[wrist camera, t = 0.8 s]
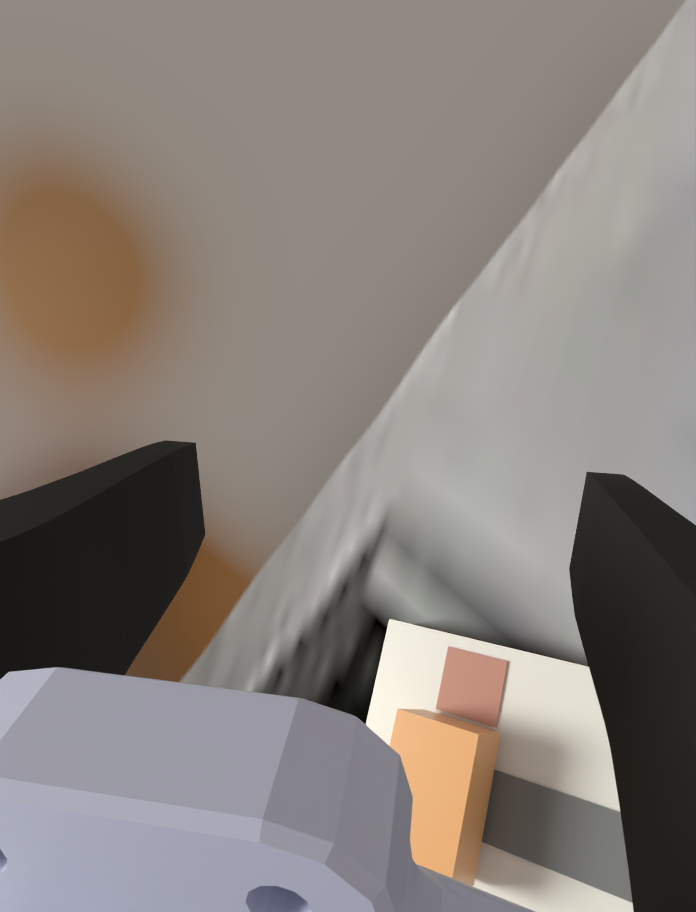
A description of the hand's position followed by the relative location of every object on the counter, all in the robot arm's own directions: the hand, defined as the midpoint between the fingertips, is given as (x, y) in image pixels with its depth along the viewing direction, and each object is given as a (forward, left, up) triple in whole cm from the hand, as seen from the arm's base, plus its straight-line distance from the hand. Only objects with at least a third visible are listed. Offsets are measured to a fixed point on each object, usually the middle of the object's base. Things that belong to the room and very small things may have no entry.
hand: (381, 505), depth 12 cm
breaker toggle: (-7, +3, -15) cm, 17 cm away
